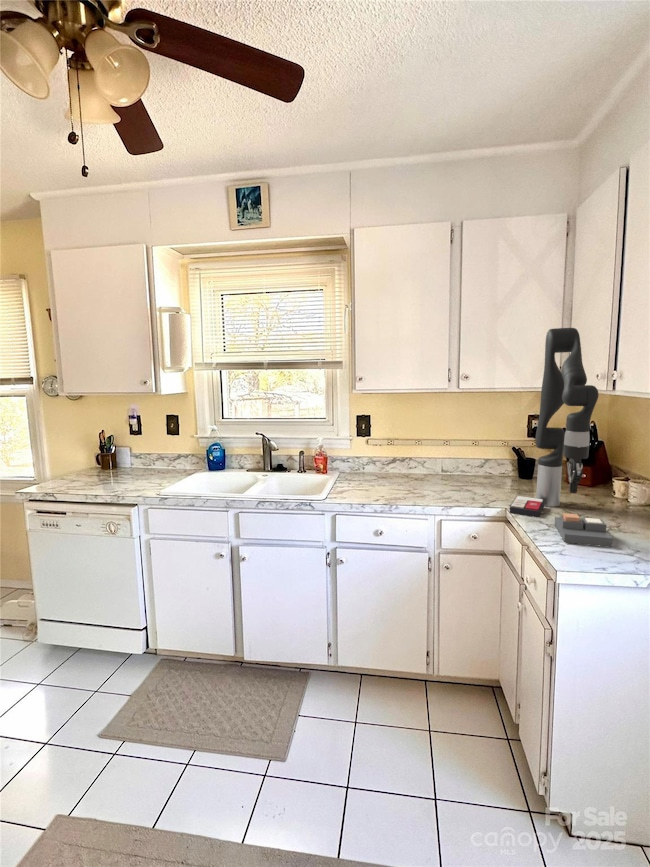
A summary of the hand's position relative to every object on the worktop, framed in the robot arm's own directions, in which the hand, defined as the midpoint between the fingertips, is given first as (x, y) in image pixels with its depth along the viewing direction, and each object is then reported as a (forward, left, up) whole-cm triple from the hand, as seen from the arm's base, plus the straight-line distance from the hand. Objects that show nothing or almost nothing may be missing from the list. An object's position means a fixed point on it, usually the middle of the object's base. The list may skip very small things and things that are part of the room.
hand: (572, 492), depth 155 cm
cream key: (0, +7, -12) cm, 14 cm away
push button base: (0, +3, -15) cm, 15 cm away
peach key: (0, 0, -11) cm, 11 cm away
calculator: (-25, -11, -16) cm, 32 cm away
